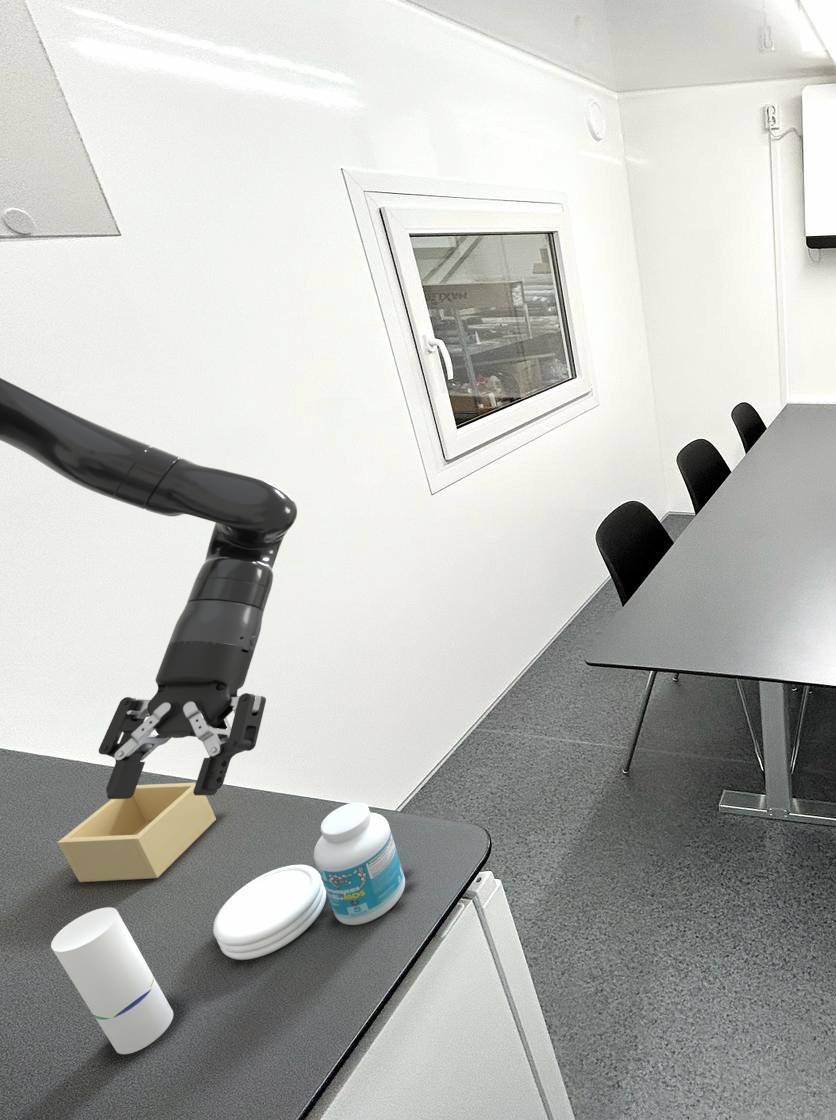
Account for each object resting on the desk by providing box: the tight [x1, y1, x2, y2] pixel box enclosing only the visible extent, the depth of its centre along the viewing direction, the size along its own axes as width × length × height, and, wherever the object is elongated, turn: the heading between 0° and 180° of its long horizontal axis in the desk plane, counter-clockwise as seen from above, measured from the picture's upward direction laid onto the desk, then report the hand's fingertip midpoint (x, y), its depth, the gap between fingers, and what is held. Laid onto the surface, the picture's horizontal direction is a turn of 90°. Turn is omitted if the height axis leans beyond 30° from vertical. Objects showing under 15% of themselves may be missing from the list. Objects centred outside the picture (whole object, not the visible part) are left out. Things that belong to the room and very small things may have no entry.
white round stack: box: [212, 864, 327, 961], centre depth 74 cm, size 10×10×4 cm
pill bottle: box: [313, 802, 406, 926], centre depth 75 cm, size 8×7×14 cm
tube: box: [50, 906, 175, 1055], centre depth 61 cm, size 4×4×15 cm
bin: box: [56, 782, 217, 883], centre depth 83 cm, size 9×9×7 cm
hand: (161, 797), depth 66 cm, fingers open, 8 cm apart
